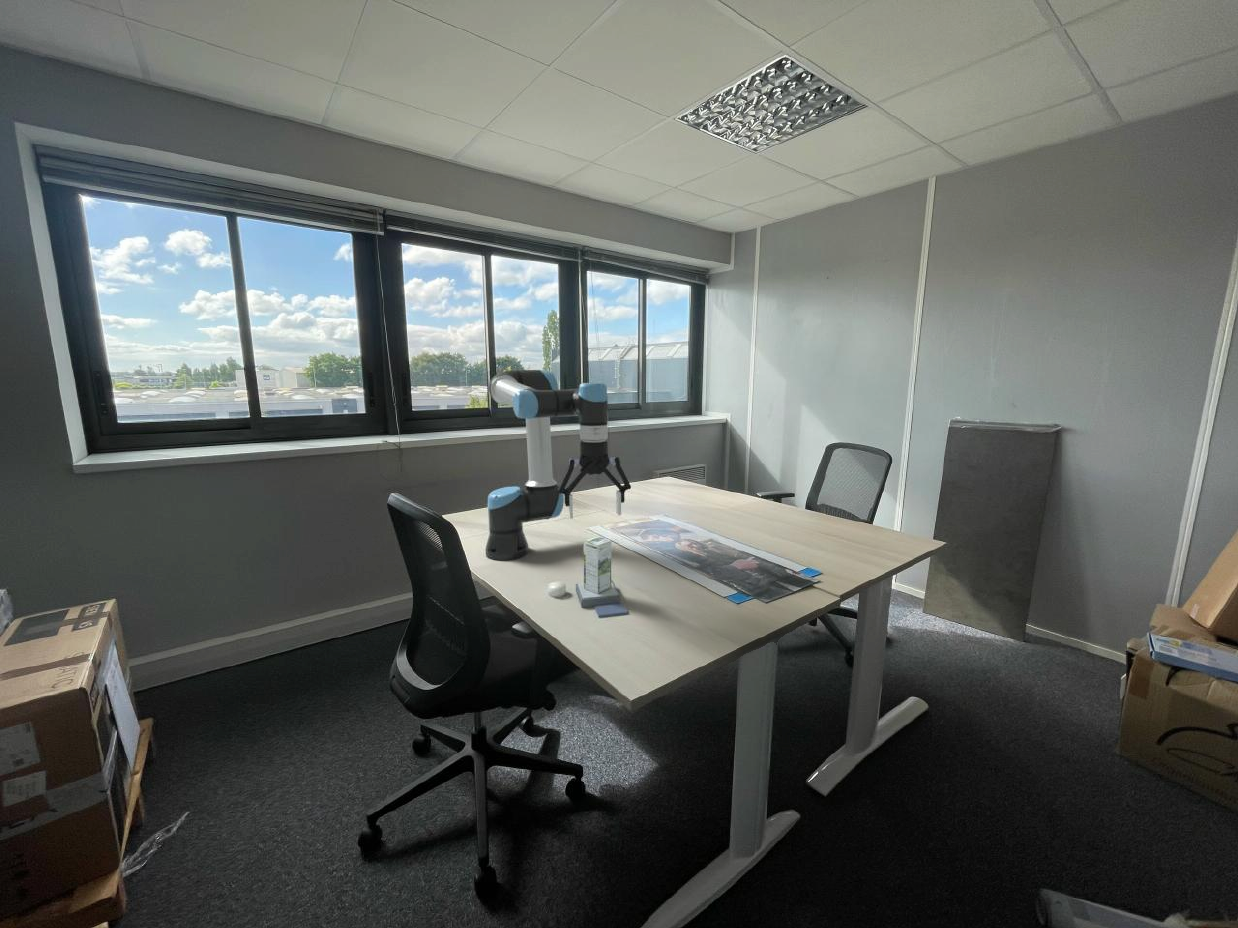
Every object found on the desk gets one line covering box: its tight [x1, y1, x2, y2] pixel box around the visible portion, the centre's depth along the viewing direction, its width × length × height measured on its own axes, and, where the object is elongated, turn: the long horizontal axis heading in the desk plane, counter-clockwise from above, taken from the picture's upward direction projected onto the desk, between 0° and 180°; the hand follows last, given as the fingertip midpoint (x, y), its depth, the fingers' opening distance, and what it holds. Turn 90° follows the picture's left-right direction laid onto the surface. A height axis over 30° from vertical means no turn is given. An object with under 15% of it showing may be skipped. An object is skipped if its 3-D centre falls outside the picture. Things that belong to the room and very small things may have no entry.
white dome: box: [547, 580, 567, 599], centre depth 141 cm, size 5×5×2 cm
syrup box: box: [583, 536, 612, 594], centre depth 137 cm, size 6×6×14 cm
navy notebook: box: [594, 603, 629, 618], centre depth 130 cm, size 5×8×1 cm, turn 104°
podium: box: [575, 579, 622, 608], centre depth 139 cm, size 11×11×2 cm
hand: (595, 515), depth 136 cm, fingers open, 13 cm apart
